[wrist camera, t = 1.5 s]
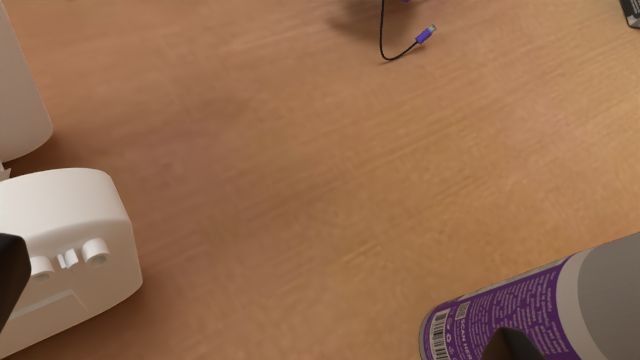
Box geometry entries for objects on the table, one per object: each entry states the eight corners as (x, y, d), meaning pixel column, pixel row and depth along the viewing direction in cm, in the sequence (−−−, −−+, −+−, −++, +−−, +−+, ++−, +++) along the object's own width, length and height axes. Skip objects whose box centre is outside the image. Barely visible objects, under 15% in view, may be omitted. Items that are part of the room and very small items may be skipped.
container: (471, 416, 24) (835, 429, 11) (401, 349, 24) (671, 284, 11) (511, 344, 26) (852, 282, 13) (447, 284, 27) (715, 167, 14)
